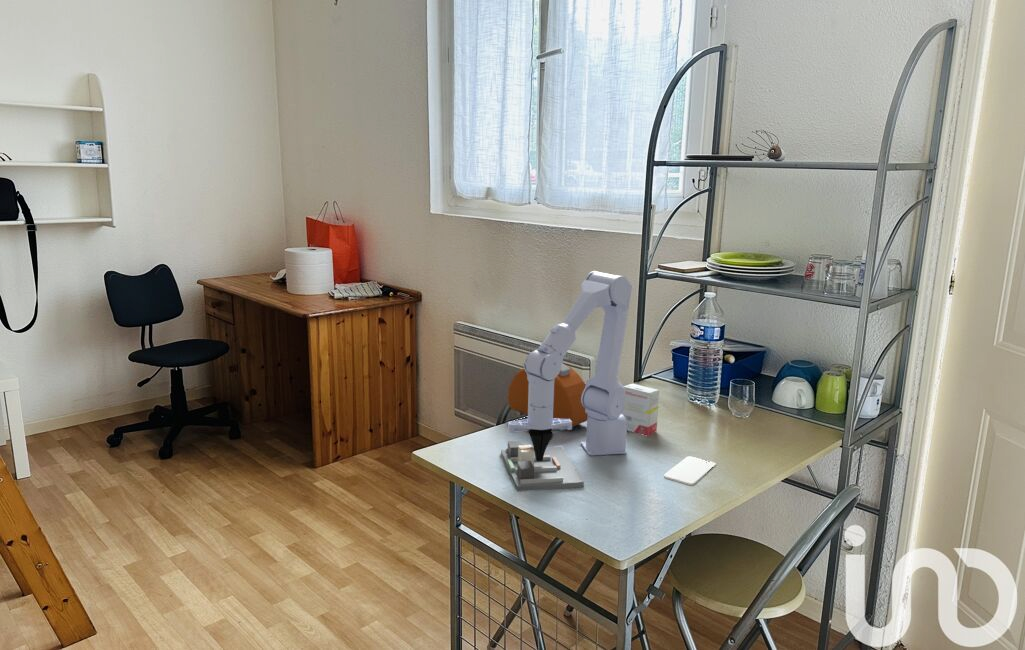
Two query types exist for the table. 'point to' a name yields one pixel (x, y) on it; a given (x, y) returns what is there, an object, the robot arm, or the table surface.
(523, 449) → the handle
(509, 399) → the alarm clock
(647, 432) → the ink box
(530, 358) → the robot arm
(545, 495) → the table surface
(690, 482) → the smartphone
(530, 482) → the breaker board
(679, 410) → the table surface
